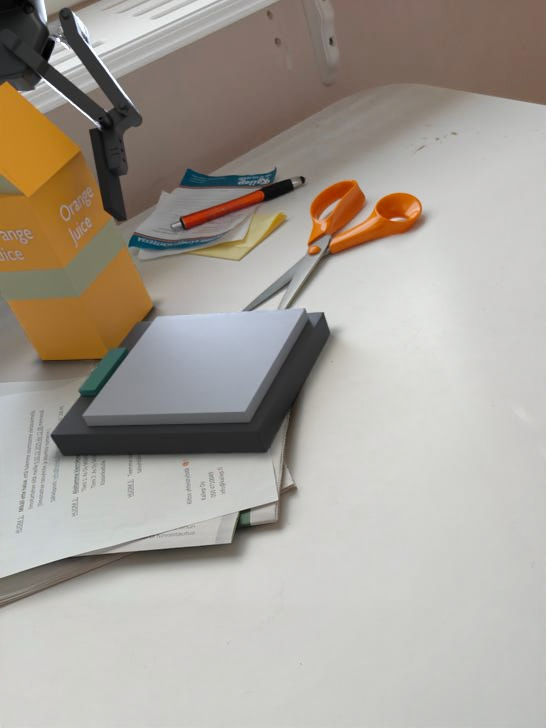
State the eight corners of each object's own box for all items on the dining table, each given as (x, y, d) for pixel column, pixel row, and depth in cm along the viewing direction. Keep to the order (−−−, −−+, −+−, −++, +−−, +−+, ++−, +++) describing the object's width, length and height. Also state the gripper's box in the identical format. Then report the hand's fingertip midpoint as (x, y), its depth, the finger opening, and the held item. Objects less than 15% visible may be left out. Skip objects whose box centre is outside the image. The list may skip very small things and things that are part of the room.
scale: (62, 455, 76) (42, 424, 74) (146, 341, 86) (131, 311, 84) (266, 452, 71) (252, 419, 69) (330, 332, 81) (320, 300, 79)
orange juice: (40, 360, 87) (-96, 131, 73) (86, 308, 93) (-32, 85, 78) (113, 358, 85) (-12, 122, 70) (156, 305, 91) (48, 75, 76)
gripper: (152, -32, 82) (197, 217, 83) (-117, 33, 84) (-70, 275, 85) (111, -93, 74) (161, 182, 75) (-183, -20, 77) (-131, 246, 78)
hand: (39, 232), depth 80 cm, fingers open, 13 cm apart
